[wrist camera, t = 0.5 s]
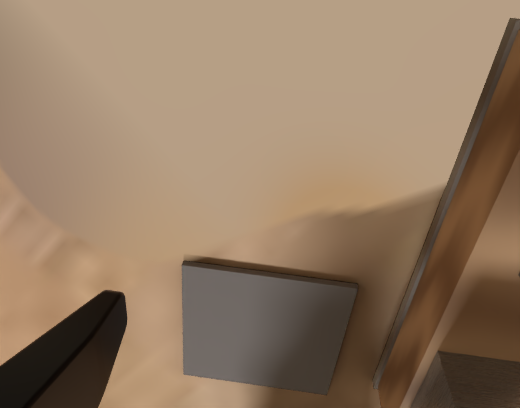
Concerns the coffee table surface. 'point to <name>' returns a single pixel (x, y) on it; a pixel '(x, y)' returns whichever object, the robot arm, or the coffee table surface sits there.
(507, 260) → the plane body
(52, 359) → the robot arm
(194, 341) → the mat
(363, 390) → the coffee table surface
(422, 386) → the cap block
